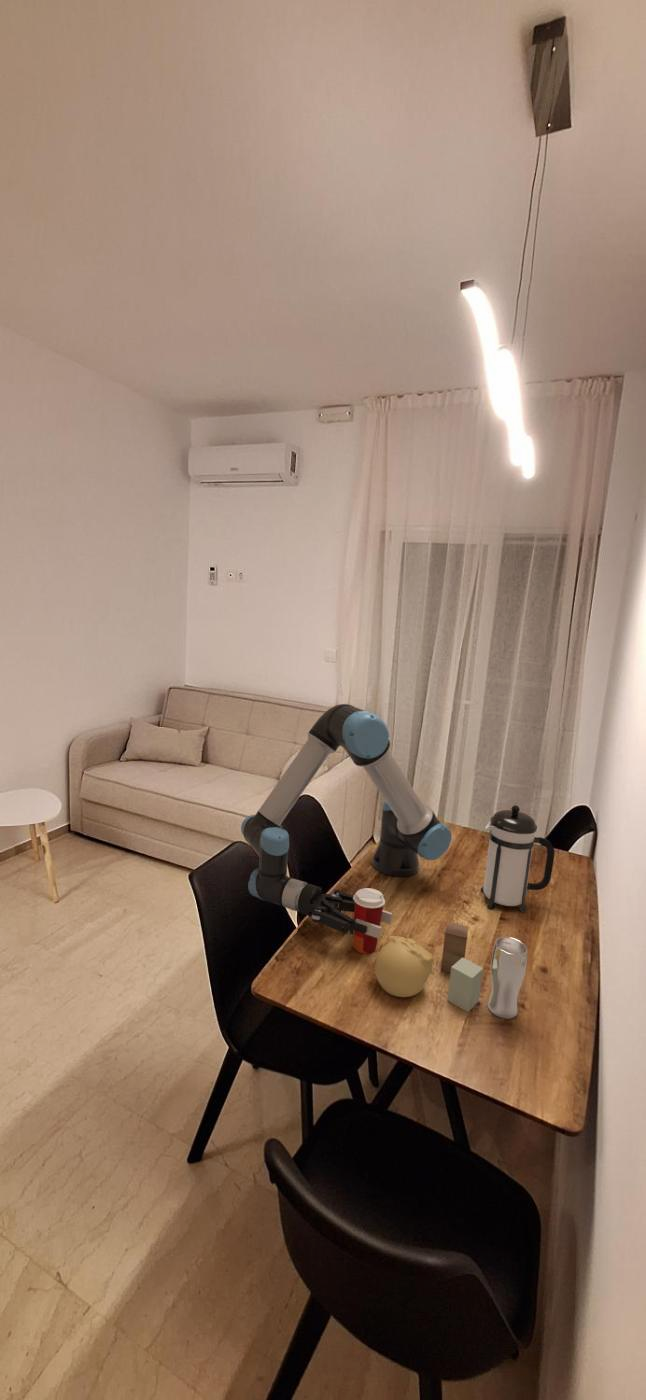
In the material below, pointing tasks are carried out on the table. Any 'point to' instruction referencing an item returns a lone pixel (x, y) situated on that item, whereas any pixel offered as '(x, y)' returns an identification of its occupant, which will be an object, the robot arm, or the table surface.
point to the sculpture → (403, 967)
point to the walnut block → (453, 945)
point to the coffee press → (512, 858)
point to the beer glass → (507, 976)
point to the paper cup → (367, 917)
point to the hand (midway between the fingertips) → (386, 925)
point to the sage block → (465, 984)
